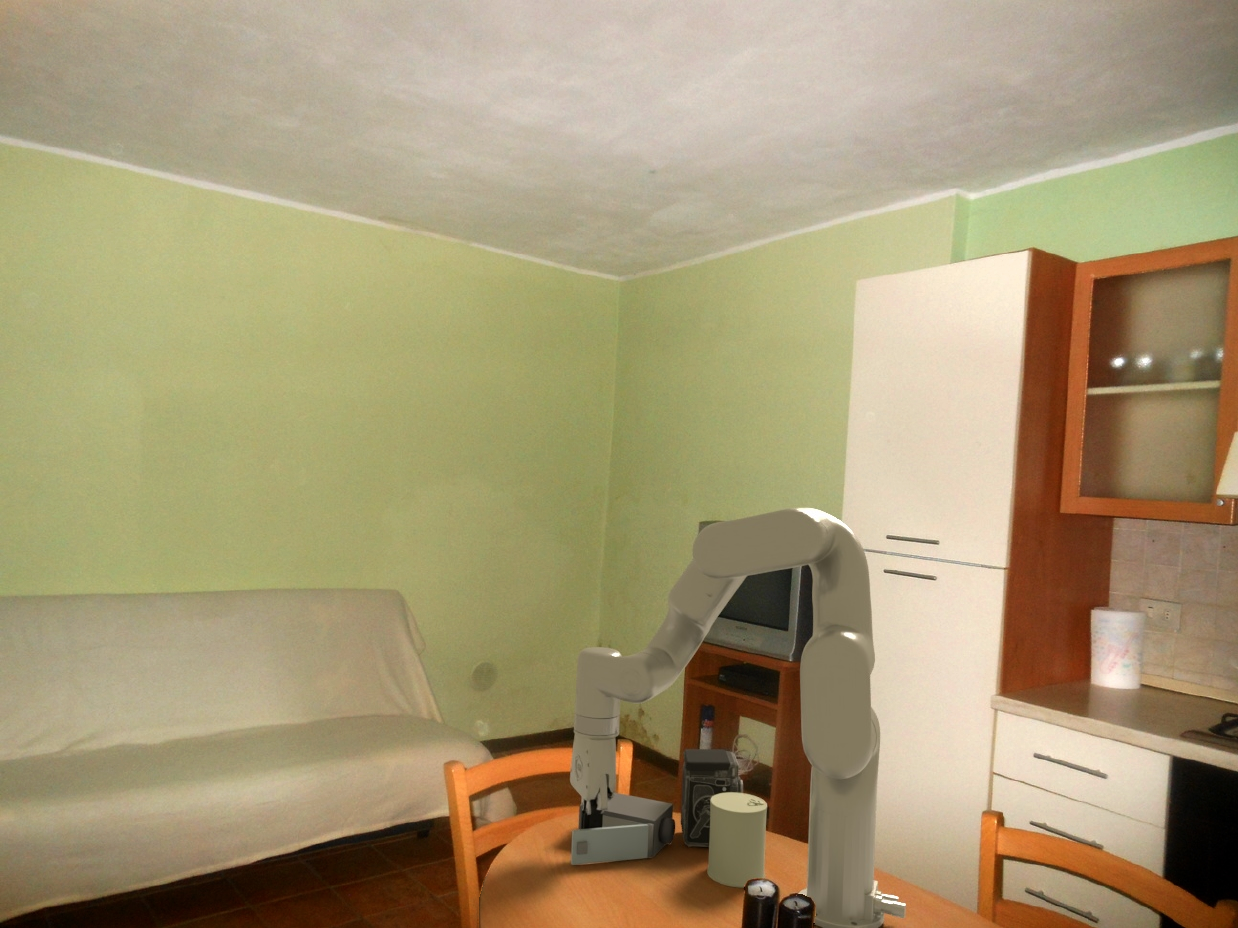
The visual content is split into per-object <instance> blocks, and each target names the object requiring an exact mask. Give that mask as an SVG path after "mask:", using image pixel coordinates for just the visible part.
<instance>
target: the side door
mask: <svg viewBox="0 0 1238 928" xmlns="http://www.w3.org/2000/svg"><path fill="white" fill-rule="evenodd" d="M653 827H654V824H652V823H648V824H639V825H626V826H614V827H602V828H590V829H572V831H571V833H572V834H571V850H570V864H571V865H572V866H574V865H575V866H576V865H586V864H587V865H589V864H597V863H609V862H619V861H620V862H621V861H627V860H640V859H652V858H653V857H652V851H653Z"/></svg>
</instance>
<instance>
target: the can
mask: <svg viewBox="0 0 1238 928" xmlns="http://www.w3.org/2000/svg"><path fill="white" fill-rule="evenodd" d="M710 803H711V804H710V841H709V847H708V862H707V863H708V864H707V869H706V870H707V871H706V873H707V875H708V877H709V878H710V879H712V880H713V881H714V882H716V883H718V884H721V885H723V886H726V887H732V888H741V889H745V888H744V885H745V884H746V882H747V881H748V880H750V879H754V878H765V879H766V874H765V861H766V860H765V855H766V853H765V852H766V825H767V810H768V803H767V802H766V801H765V800H764V799H762V798H761V797H758V796H756V795H754V794H750V793H744V792H743V793H736V792H727V793H720V794H716V795H714V796H713V797H712V798H711V799H710Z"/></svg>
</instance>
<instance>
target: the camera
mask: <svg viewBox="0 0 1238 928" xmlns="http://www.w3.org/2000/svg"><path fill="white" fill-rule="evenodd" d="M683 760H684V762H683V763H682V780H681V781H682V782H681V785H682V786H681V807H680V810H681V811H680V826H681V832H682V833H681V834H682V841H683V843H684V845H686V846H687V847H688V848H691V847H702V848H703V847H704V848H706V847H707V848H709V841H710V804H711V803H710V799H711V798H712V797H713V796H714V795H716V794H720V793H727V792H736V793H744V782H743V779H741V777H740V776H739V769H740V768H739V767H740V766H739V762H738V759H737V757H736V754H735V753H734V752H733V751H729V750H728V751H727V750H726V749H722V748H721V749H720V748H719V749H715V748H714V749H711V748H710V749H709V748H708V749H707V748H704V749H701V748H692V749H691V748H686V749H684V750H683Z"/></svg>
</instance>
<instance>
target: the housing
mask: <svg viewBox="0 0 1238 928" xmlns="http://www.w3.org/2000/svg"><path fill="white" fill-rule="evenodd" d="M607 805H608V808H607V810H604V813H603V824H602V827H614V826H626V825H639V824H648V823H652V824H654V827H653V851H652V858H655V856H656V855H657V854H658V853H659V852H660V851H661V850H662V849H663V848H665V846H666V845H671V844H672V843H673V841H674V839H675V834H676V821H675V820H676V819H674V818H673V815H674V814H673V813H674V803H670V802H666V801H661V800H660V801H659V800H655V799H650V798H644V797H639V796H634V795H628V794H625V793H624V794H623V793H619V792H615V793H614V797H613V798H612V799H608V798H607ZM578 810H579V811H578V829H581V815H582V811H584V810H582V806H581V804H580V805H579V808H578ZM578 829H577V830H578Z"/></svg>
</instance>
